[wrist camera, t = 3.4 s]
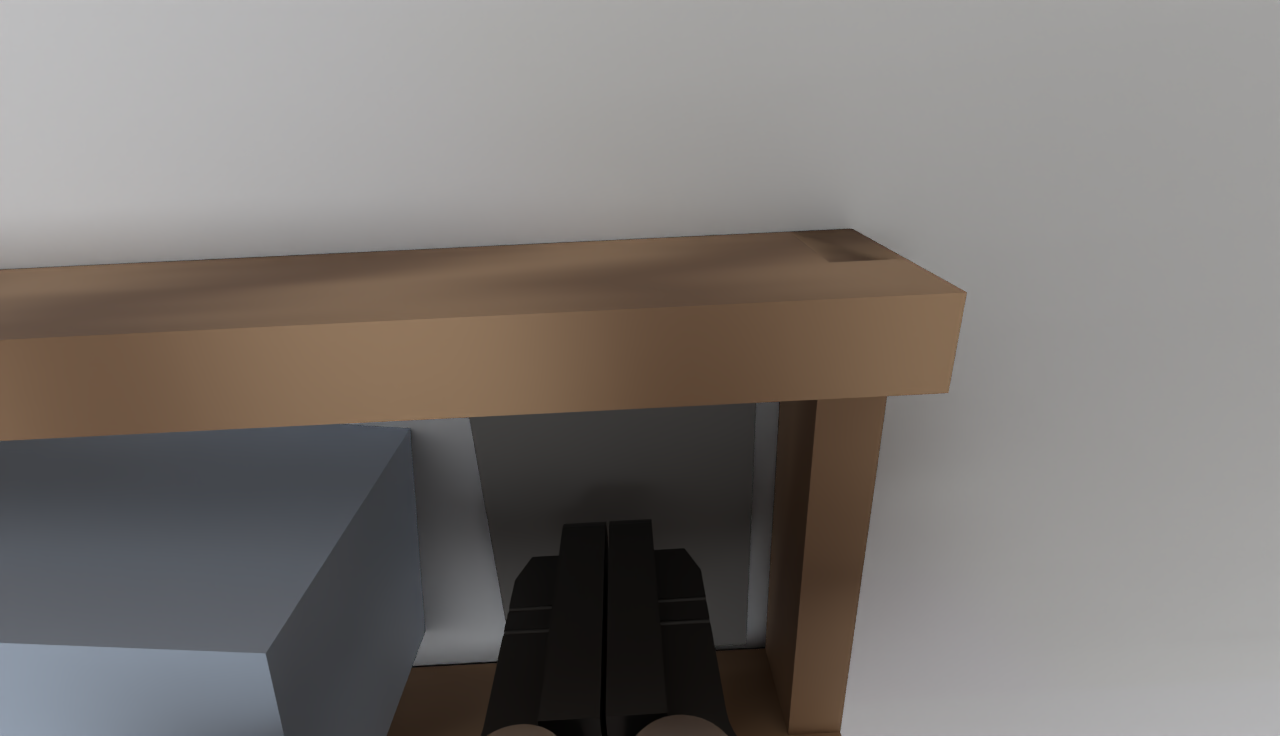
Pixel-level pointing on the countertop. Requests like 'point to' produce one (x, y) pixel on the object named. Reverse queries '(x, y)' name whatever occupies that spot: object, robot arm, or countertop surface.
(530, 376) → the channel
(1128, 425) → the countertop surface
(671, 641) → the robot arm
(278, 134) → the countertop surface
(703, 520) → the pad
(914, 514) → the countertop surface
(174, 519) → the block
